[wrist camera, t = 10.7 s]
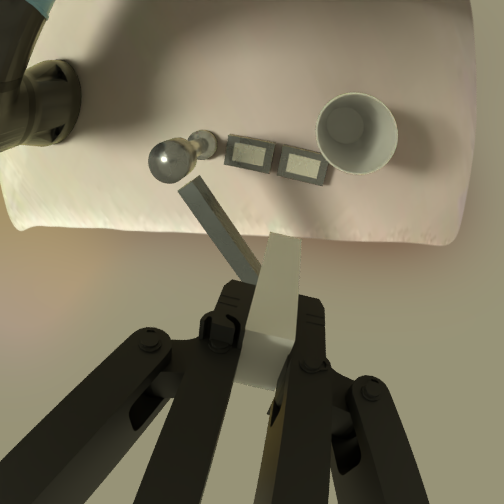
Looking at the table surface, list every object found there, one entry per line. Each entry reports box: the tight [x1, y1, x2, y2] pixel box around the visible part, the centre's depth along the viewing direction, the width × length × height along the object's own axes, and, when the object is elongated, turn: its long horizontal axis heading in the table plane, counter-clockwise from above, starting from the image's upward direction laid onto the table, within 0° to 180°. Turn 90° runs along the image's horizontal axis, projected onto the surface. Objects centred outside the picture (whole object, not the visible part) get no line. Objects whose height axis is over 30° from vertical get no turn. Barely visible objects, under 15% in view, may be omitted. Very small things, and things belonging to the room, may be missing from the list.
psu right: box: [277, 144, 329, 186], centre depth 38 cm, size 6×4×1 cm, turn 81°
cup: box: [315, 92, 398, 175], centre depth 30 cm, size 8×8×10 cm
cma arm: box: [148, 138, 261, 285], centre depth 33 cm, size 20×4×3 cm, turn 33°
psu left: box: [224, 134, 276, 174], centre depth 38 cm, size 6×4×1 cm, turn 80°
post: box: [188, 130, 217, 160], centre depth 35 cm, size 4×4×8 cm
